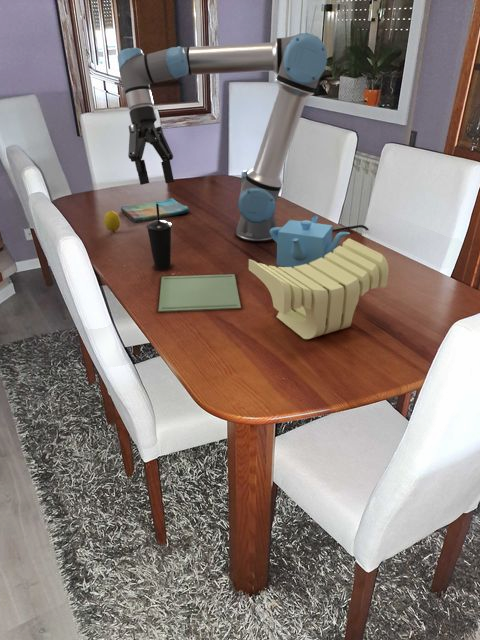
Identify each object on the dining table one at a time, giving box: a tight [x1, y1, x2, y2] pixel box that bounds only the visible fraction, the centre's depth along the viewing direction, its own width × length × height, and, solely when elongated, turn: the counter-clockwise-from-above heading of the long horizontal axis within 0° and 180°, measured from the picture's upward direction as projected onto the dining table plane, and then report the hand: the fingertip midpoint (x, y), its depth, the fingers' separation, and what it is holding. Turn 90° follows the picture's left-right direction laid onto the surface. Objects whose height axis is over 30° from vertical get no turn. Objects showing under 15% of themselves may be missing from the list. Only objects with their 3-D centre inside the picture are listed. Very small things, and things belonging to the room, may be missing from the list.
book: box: [120, 197, 191, 223], centre depth 210 cm, size 17×23×2 cm
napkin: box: [157, 273, 242, 313], centre depth 149 cm, size 22×22×1 cm
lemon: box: [103, 210, 121, 233], centre depth 189 cm, size 6×6×8 cm
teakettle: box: [270, 214, 351, 269], centre depth 161 cm, size 19×19×15 cm
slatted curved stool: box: [248, 237, 390, 340], centre depth 129 cm, size 30×16×18 cm, turn 119°
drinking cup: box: [145, 204, 173, 271], centre depth 159 cm, size 8×8×20 cm
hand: (157, 183), depth 159 cm, fingers open, 13 cm apart
